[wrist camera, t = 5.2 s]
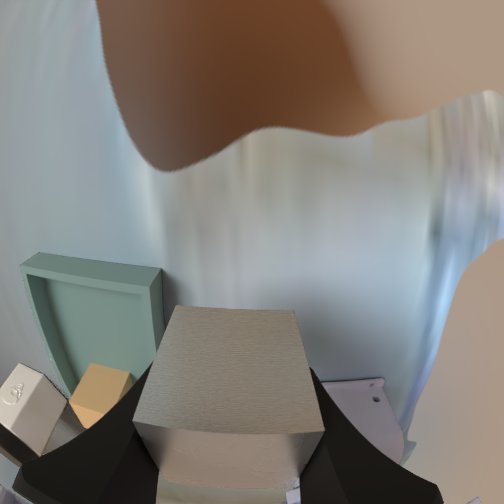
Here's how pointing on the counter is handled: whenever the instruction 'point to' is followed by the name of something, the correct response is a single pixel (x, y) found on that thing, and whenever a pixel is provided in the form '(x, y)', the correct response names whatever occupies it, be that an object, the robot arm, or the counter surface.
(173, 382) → the concrete cube
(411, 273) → the counter surface
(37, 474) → the robot arm
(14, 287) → the counter surface
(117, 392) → the tan box
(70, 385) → the tote
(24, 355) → the counter surface
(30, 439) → the jar
